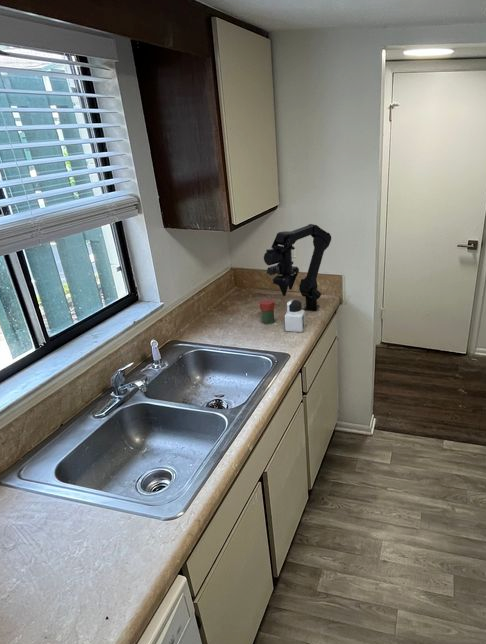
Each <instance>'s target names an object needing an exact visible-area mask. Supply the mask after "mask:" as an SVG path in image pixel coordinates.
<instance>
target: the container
mask: <svg viewBox="0 0 486 644" xmlns="http://www.w3.org/2000/svg"><path fill="white" fill-rule="evenodd" d="M305 326H306V310H304V309H303V305H302V302H301V301H300V300H297V299H293V300H292V299H291V300H289V301H287V303H286V313H285V315H284V329H285V330H284V331H285V332H290V333H291V332H292V333H303V331H304V329H305Z"/></svg>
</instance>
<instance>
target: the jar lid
mask: <svg viewBox="0 0 486 644" xmlns="http://www.w3.org/2000/svg"><path fill="white" fill-rule="evenodd" d="M275 307H276V306H275V301H274V300H273V299H270V298H267V299H262V300H260V301H259V309H260V311H261V310H262V311H271V310H273V309H274V310H275Z"/></svg>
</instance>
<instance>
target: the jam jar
mask: <svg viewBox="0 0 486 644" xmlns="http://www.w3.org/2000/svg"><path fill="white" fill-rule="evenodd" d="M260 311H261V313H260V314H261V322H262V324H263V325H270V324H273V323H275V308H274V309H273V310H271V311H262V310H261V309H260Z"/></svg>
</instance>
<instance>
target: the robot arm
mask: <svg viewBox="0 0 486 644" xmlns="http://www.w3.org/2000/svg"><path fill="white" fill-rule="evenodd" d="M309 236H310V237H311V238H312V239H313V241H312V245H313V251H312V255H311V258H310V262H309V266H308V270H307V273H306V276H305V277H304V278H301V279H300V283H299V285H298V291H299V293H300V294H301V297H304V300H305V306H304V308H303V310H305V311H310V312H311V311H312V312H316V311H317V310H318V309H319V308H320V305H319V304H318V300H319V299H320V298H321V297H322V292H320V290H318V281H317V278H318V275H319V271H320V267H321V264H322V260H323V256H324V253H325V251H326V250H327V249H328V248H329V246H330V244H331V242H332V235H331V233H329V232H327V231H326V230H325V229H323V228H321V227H320V226H319V225H317V224H314V223H309V224H307V225H305V226H302V227H300V228H296V229H294V230H291V231H287V230H286V231H284V230H283V231H278V232H277V233H276V236H275V238H274V240H273V242H272V245H271V248H270V249H269V248H268V249H266V250H265V252H264V254H263V262H264V263H265V264H266V265H267V266H269V267H267V269H266V274H267V275H269V276H270V277H271V276H274V275H276V276H275V277H274V278H273V279H272V284H273V285H277V286H278V287H279V290H280V292H281V294H282V296H283V297H285V296H286V295H287V291H288V290H290V291H291V290H293V287H294V284H295V282H296V280H297V278H298V275H299V273H300V268H299V267H298V266H293V265H294V261H293V257H292V250H295V249H296V247H295V246H293V245H295V244H296V242H297V241H299V240H301V239H304V238H307V237H309Z"/></svg>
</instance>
